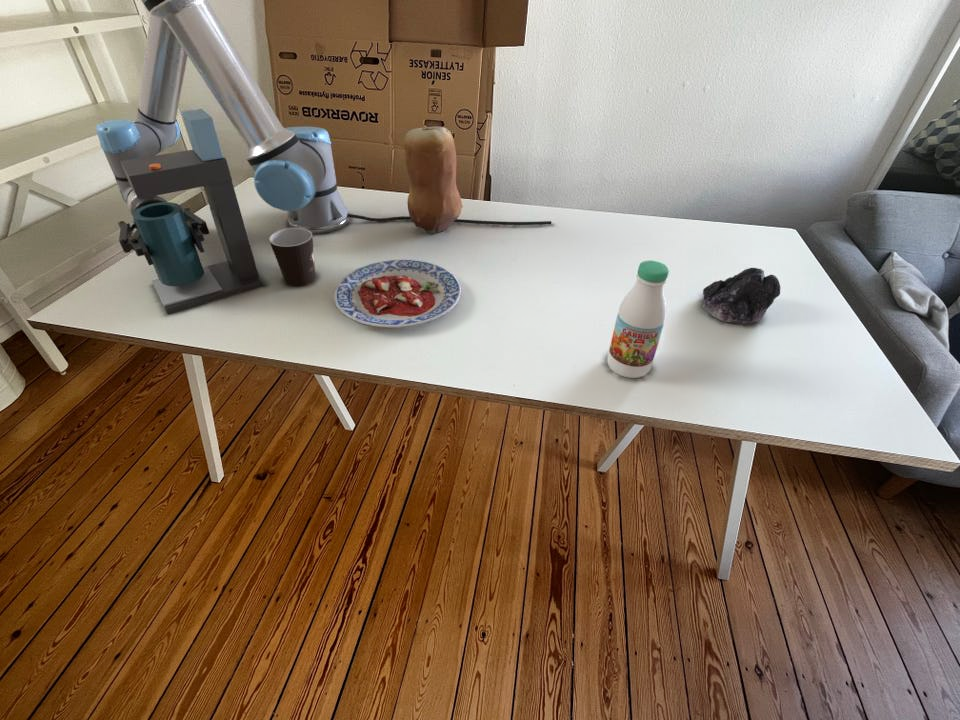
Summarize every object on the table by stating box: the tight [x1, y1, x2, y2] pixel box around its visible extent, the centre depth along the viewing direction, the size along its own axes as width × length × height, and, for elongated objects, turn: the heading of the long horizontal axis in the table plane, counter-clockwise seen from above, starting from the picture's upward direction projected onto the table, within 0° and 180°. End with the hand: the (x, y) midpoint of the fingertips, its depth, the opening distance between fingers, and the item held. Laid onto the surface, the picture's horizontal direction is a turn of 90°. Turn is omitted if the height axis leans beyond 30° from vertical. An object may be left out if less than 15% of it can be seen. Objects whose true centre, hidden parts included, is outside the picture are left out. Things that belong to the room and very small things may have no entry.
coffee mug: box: [268, 227, 316, 288], centre depth 111 cm, size 12×9×10 cm
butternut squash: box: [403, 125, 464, 234], centre depth 126 cm, size 14×13×25 cm
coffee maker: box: [120, 108, 265, 315], centre depth 100 cm, size 13×19×33 cm
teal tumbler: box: [132, 201, 204, 286], centre depth 102 cm, size 8×8×14 cm
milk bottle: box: [606, 259, 670, 379], centre depth 87 cm, size 8×8×20 cm
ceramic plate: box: [333, 259, 462, 329], centre depth 107 cm, size 26×26×3 cm
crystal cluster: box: [702, 267, 782, 325], centre depth 105 cm, size 13×14×10 cm
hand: (175, 252), depth 99 cm, fingers closed on teal tumbler, 8 cm apart
